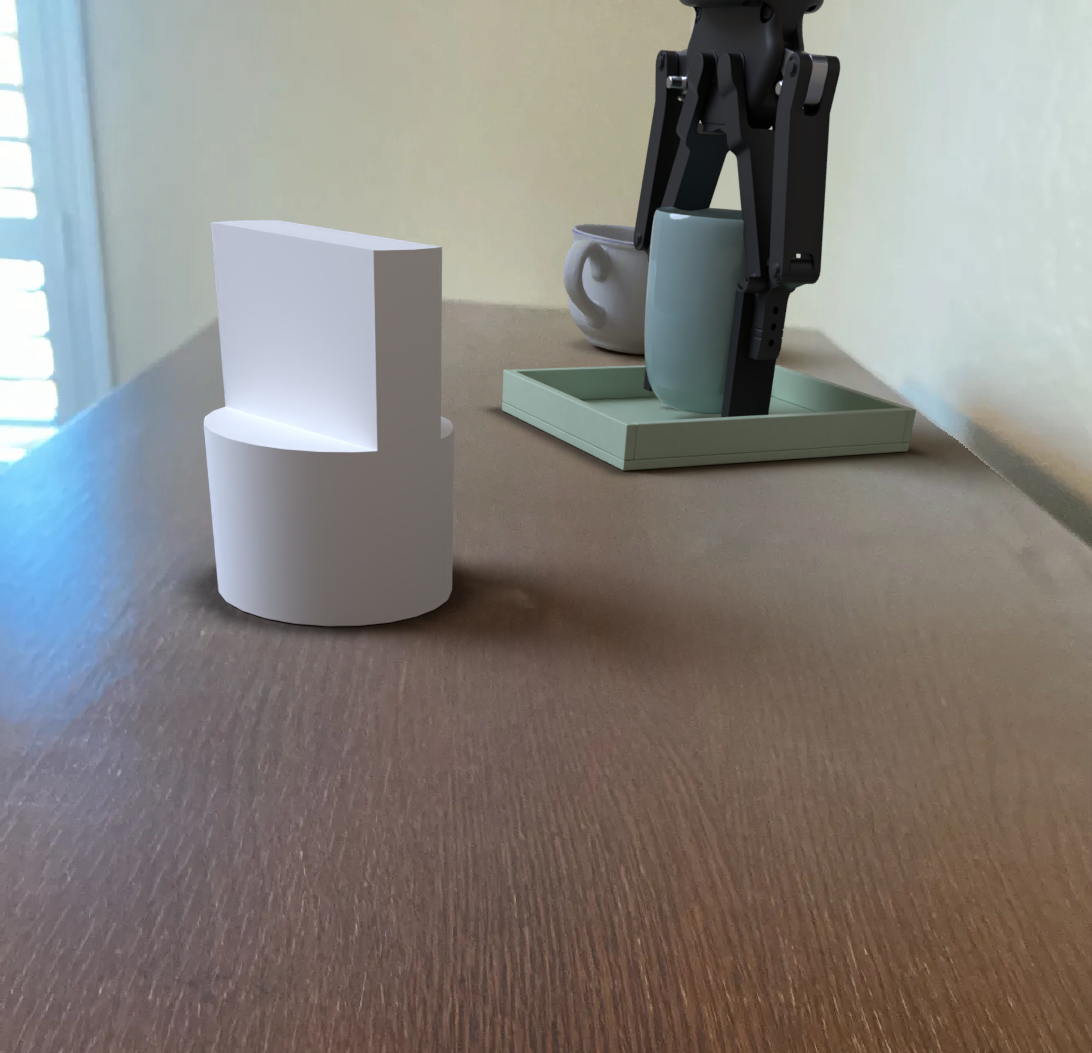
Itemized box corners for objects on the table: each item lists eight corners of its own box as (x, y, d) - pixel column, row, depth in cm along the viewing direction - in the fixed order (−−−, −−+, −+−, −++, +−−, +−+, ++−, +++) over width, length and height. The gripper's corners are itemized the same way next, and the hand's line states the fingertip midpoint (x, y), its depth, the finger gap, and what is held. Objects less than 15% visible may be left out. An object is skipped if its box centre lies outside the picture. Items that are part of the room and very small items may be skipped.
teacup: (638, 333, 108) (647, 222, 103) (733, 356, 101) (747, 238, 96) (505, 344, 100) (508, 224, 95) (598, 369, 93) (607, 241, 89)
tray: (761, 398, 87) (766, 361, 86) (908, 451, 76) (916, 409, 75) (501, 410, 80) (502, 369, 78) (623, 471, 69) (626, 424, 67)
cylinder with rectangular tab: (499, 591, 51) (511, 244, 45) (322, 644, 46) (304, 255, 39) (347, 538, 56) (337, 217, 49) (170, 580, 50) (130, 223, 44)
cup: (753, 428, 73) (781, 224, 68) (620, 411, 75) (637, 211, 69) (778, 404, 79) (806, 215, 74) (655, 389, 81) (673, 204, 76)
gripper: (593, -84, 70) (566, 372, 83) (825, -115, 55) (748, 448, 68) (710, -69, 73) (666, 369, 86) (960, -95, 58) (863, 441, 71)
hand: (703, 403), depth 77 cm, fingers closed on cup, 8 cm apart
